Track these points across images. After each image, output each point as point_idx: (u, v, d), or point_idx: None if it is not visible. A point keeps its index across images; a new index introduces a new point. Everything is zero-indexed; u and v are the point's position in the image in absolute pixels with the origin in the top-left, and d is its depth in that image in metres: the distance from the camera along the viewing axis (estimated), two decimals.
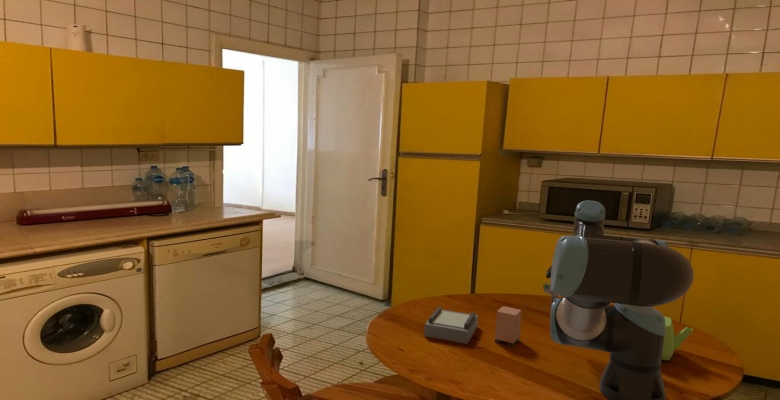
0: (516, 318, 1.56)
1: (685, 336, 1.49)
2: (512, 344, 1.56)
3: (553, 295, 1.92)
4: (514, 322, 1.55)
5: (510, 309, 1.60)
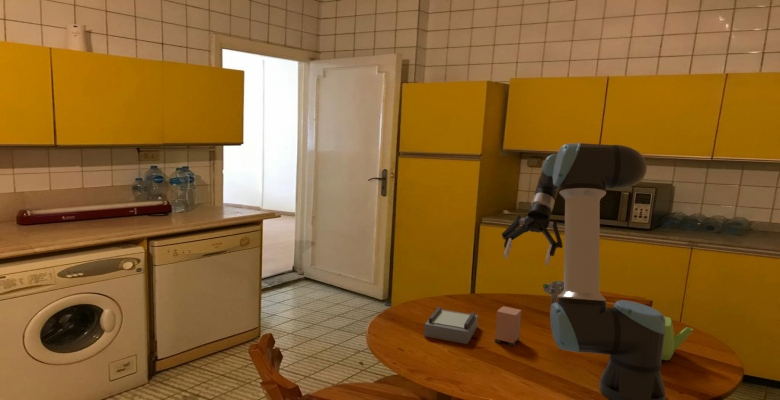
0: (516, 318, 1.56)
1: (685, 336, 1.49)
2: (512, 344, 1.56)
3: (553, 295, 1.92)
4: (514, 322, 1.55)
5: (510, 309, 1.60)
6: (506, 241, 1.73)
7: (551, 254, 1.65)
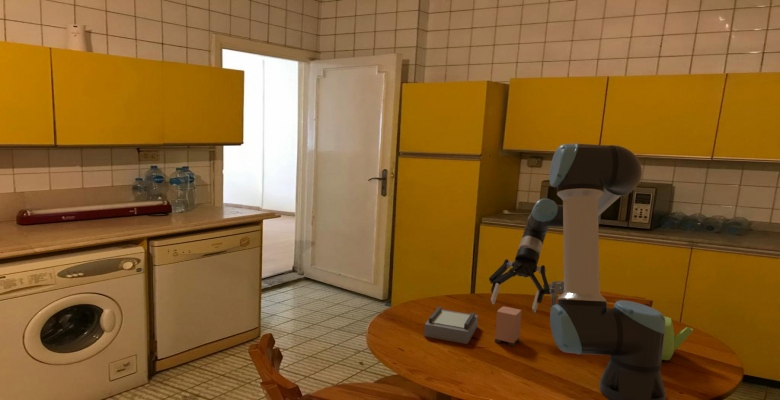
0: (516, 318, 1.56)
1: (685, 336, 1.49)
2: (512, 344, 1.56)
3: (553, 295, 1.92)
4: (514, 322, 1.55)
5: (510, 309, 1.60)
6: (493, 286, 1.70)
7: (538, 301, 1.61)
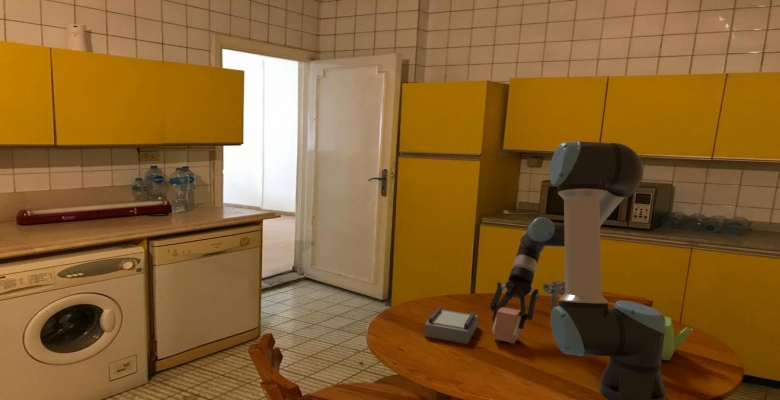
0: (516, 318, 1.56)
1: (685, 336, 1.49)
2: (512, 344, 1.56)
3: (553, 295, 1.92)
4: (514, 322, 1.55)
5: (510, 309, 1.60)
6: (494, 315, 1.61)
7: (520, 327, 1.56)
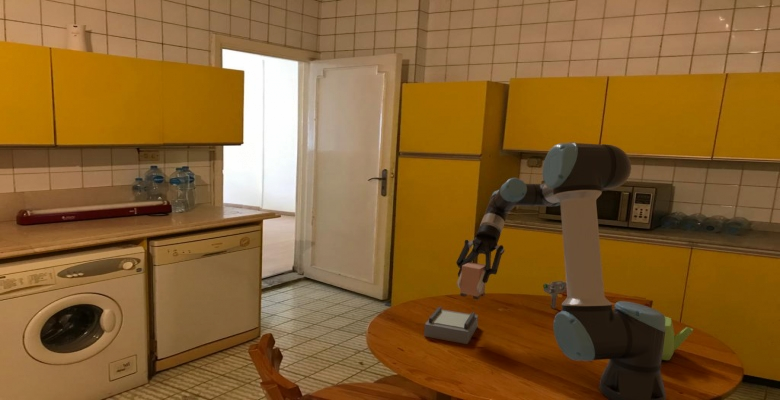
0: (480, 272, 1.60)
1: (685, 336, 1.49)
2: (476, 297, 1.60)
3: (553, 295, 1.92)
4: (478, 276, 1.59)
5: (475, 264, 1.64)
6: (460, 270, 1.65)
7: (484, 281, 1.60)
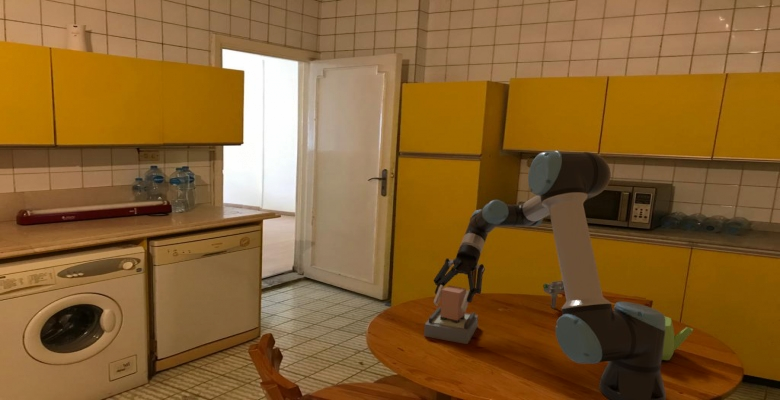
0: (460, 296, 1.61)
1: (685, 336, 1.49)
2: (456, 321, 1.62)
3: (553, 295, 1.92)
4: (457, 300, 1.61)
5: (455, 288, 1.65)
6: (437, 288, 1.67)
7: (468, 301, 1.61)
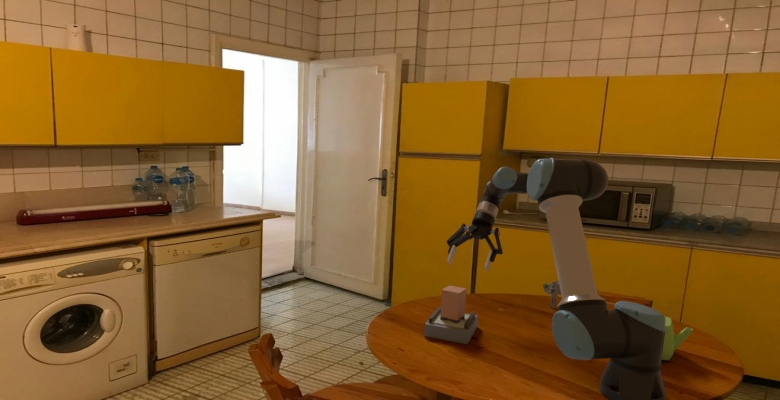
0: (460, 296, 1.61)
1: (685, 336, 1.49)
2: (456, 321, 1.62)
3: (553, 295, 1.92)
4: (457, 300, 1.61)
5: (455, 288, 1.65)
6: (450, 248, 1.79)
7: (491, 260, 1.70)
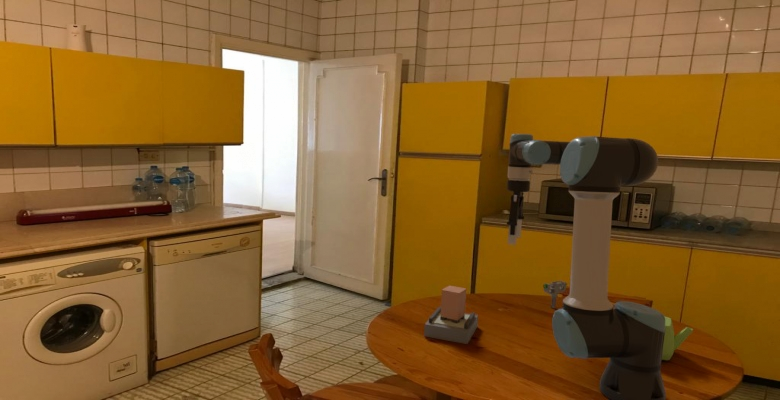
0: (460, 296, 1.61)
1: (685, 336, 1.49)
2: (456, 321, 1.62)
3: (553, 295, 1.92)
4: (457, 300, 1.61)
5: (455, 288, 1.65)
6: None
7: None
